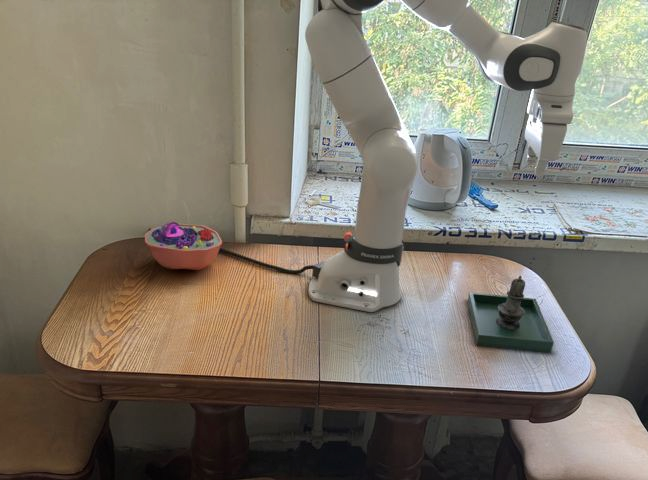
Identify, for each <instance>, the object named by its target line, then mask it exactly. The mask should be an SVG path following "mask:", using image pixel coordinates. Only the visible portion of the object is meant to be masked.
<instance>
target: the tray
mask: <svg viewBox="0 0 648 480" xmlns="http://www.w3.org/2000/svg"><path fill="white" fill-rule="evenodd" d="M507 297H508V295H502V294H491V293H480V292H469V293H468V296H467V300H466V301H467V302H466V303H467V306H468V311H469V316H470V321H471V324H472V326H471V327H472V330H473V334H474V335H473V336H474V339H475V340H474V341H475V345H476V346H481V347H492V348H501V349H502V348H503V349H512V350H521V351H522V350H523V351H531V352H540V353H551V352H552V349H553V347H554V344H555V341H554V340H553V337H552V334H551V332H550V330H549V328H548V326H547V323H546V320H545V318H544V316H543V313H542V311H541V308H540V306H539V303H538V301H537V298H532V297H523V298H522V300H521V303H520V307H522V308H523V309H524V311H525V314H524V315H523V316H522V317H521V319H520V320H518V322H519V324H520V326H519V328H517V329H506V328H503V327H501V326H499V325H498V324H497V323H496V319H497V318H499V317H500V316H499V310H498V306H499V305H500V304H503V303H506V301H507Z"/></svg>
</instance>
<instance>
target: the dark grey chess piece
mask: <svg viewBox="0 0 648 480" xmlns="http://www.w3.org/2000/svg"><path fill="white" fill-rule="evenodd" d="M522 278H523V277H522V275H519V276H518V277H517V278H514V279H512V281H511V284H510V287H509V290H508V291H507V292H506V296H508V297H507V301H506V303H503V304H500V305H499V306H498V310H499V316H500V317H499V318H497V319H496V323H497V324H498V325H499V326H501V327H503V328H506V329H517V328H519V326H520V324H519V322H518V320H520V319H521V317H522V316H523V315H524V314H525V311H524V309H523V308H522V307H520V303H521V300H522V298H525V294H524V291H525V287H526V281H525V280H524V279H522Z"/></svg>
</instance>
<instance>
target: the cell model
mask: <svg viewBox="0 0 648 480" xmlns="http://www.w3.org/2000/svg"><path fill="white" fill-rule="evenodd" d="M150 229H151V230H150V231H148V230H147V232H146V233H145V234H144V242H145V244H146V245H147V247H148V250H149V252H150V255H151V256H152V258H153V259H154V260H155V261H156V262H157V263H158V264H159V265H160V266H161V267H162V268H165V269H170V270H192V271H201V270H203V269H205V268H206V267H208V266H209V265H211V264H212V263H213V262H214V261H215V260H216V258H217V256H218V254H219V252H220V251H219V249H220V247H221V248H222V244H223V240H222V238H221V237H220V234H219V233H218V232H217V231H216V230H214V229H213V228H210V227H208V226H207V225H203V224H189V223H188V224H187V223H178V222H175V221H169V222H167V223H164V224H162V225H157V226H155V227H153V228H150Z"/></svg>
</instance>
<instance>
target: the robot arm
mask: <svg viewBox="0 0 648 480" xmlns="http://www.w3.org/2000/svg"><path fill="white" fill-rule="evenodd" d="M386 1H387V0H317V11H318V12H316V13H315V15H313V16H312V18H311V19H310V20H309V22H308V23H307V26H306V27H305V31H304V39H305V42H306V45H307V48H308V52H309V55H310V58H311V60H312V63H313V66H314V69H315V71H316V73H317V75H318V77H319V79H320V81H321V84H322V86H323V87H324V90H325V92H326V94H327V96H328V97H329V99H330V101H331V103H332V105H333V107H334V109H335V111H336V113H337V115H338V118H339V119H340V121H341V123H342V124H343V126H344V127H345V129H346V131H347V133H348V134H349V136H350V138H351V139H352V141H353V143H354V145H355V147H356V149H357V151H358V152H359V153H358V154H359V155H360V157H361V161H362V174H361V175H362V176H361V181H360V188H359V194H358V200H357V205H356V215H355V226H354V233H352V232H351V231H346V232H344V235H343V241H344V247H343V249H342V250H341V251H339V252H338V253H336V254H334V255H332V256H330V257H328V258H327V259H326V260H324V261H321V262H318V263H316V264H310V265H305V266H302V268H300V269H289V268H288V269H287V268H285V267H281V266H277V265H274V264H269V263H266V262H262V261H260V260H257V259H254V258H251V257H249V256H245V255H243V254H240V253H238V252H235V251H231V250H229V249H227V248H223V247H222V246H221V247H220V249H219V252H221V253H225V254H228V255H229V256H233V257H235V258H238V259H240V260H244V261H246V262H249V263H251V264H255V265H257V266H261V267H264V268H267V269H271V270H275V271H279V272H281V273H285V274H289V275H290V274H291V275H299V274H303V273H304V272H306V271H307V270H312V278H311V279H310V281H309V284H308V291H307V293H308V296H309V298H310V299H311V300H312V301H313V302H317V303H321V304H327V305H331V306H337V307H342V308H347V309H353V310H357V311H363V312H367V313H374V312H377V311H379V310H381V309H383V308H386V307H390V306H393V305H395V304H396V303H398V302H400V300H401V298H402V293H401V287H400V266H401V263H402V260H403V253H404V240H403V236H404V229H405V222H406V216H407V210H408V206H409V202H410V198H411V195H412V191H413V188H414V183H415V179H416V175H417V172H418V165H419V156H418V153H417V149H416V147H415V146H414V144H413V142H412V140H411V138H410V135H409V133H408V131H407V129H406V126H405V124H404V122H403V120H402V118H401V116H400V113H399V110H398V109H397V107H396V104H395V101H394V100H393V98H392V95H391V93H390V91H389V88H388V87H387V84H386V82H385V80H384V78H383V75H382V73H381V71H380V69H379V67H378V64H377V62H376V60H375V58H374V55H373V53H372V50H371V49H370V47H369V45H368V43H367V41H366V39H365V35H364V32H363V24H362V23H363V22H362V21H363V16H364V13H367V12H370V11H373V10H375V9H377V8H378V7H379V6H382V5H383V4H384V2H386ZM399 1H400V2H401V3H402V4H403V6H405V7H406V8H407V9H408V10H410V11H411V12H412V13H413V14H414V15H416V16H417V17H418V18H420V19H421V20H423V21H424V22H426V23H427V24H429V25H430V26H433V27H435V28H437V29H439V30H444V31H446V32H448V33H449V34H451V35H452V36H453V37H454V38H455V39H456V40H457V41H458V42H459V43H460V44H462V45H463V46H464V47H465V48H466V49H467V51H469V52H470V53H471V54H472V55H473V57H474V59H475V60H476V63H477V66H478V68H479V71H480V73H481V75H482V76H483V77H484V79H486V80H487V81H489V82H491V83H494V84H499V85H500V86H502V87H504V88H507V89H509V90H512V91H515V92H526V91H531V92H530V96H529V101H528V105H527V109H526V113H527V114H528V119H527V123H526V126H525V130H524V140H525V141H526V142H527V144H528V145H527V154H526V155H527V156H526V161H525V163H526V165H529V166H530V165H531V166H533V165H535V164H536V166H535V167H534V170H533V175H534V177H536V178H542V177H543V176H544V173H545V169H546V168H547V166H548V164H549V162H555V161H556V160H557V159H558V157H559V155H560V154H561V153H560V152H561V150H562V148H563V144H564V142H565V138H566V134H567V130H568V125H571V124H572V122H573V118H574V112H573V104H574V103H573V102H574V99H575V94H576V83H577V80H578V78H579V76H580V74H581V72H582V67H583V64H584V60H585V55H586V50H587V43H588V33H587V31H586V29H585V28H583V27H581V26H579V25H576V24H573V23H568V22H565V21H557V20H556V21H552V22H551V23H550V24H549V25H548V26H547V27H545V28H543V29H542V30H540V31H538V32H536V33H534V34H532V35H528V36H526V37H524V38H523V37H520V36H517V35H515V34H512V33H510V32H505V31H500V30H497V29H496V28H495V27H493V26H492V25H491V23H489V21H487V20H486V19H485V18H484V16H482V15H481V14H480V13H479V11H477V10H476V9H475V8H474V7H473V5H472V3H471V0H399ZM536 160H537V163H536ZM151 229H152V228H148V229H147V232H148V231H150V230H151Z"/></svg>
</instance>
